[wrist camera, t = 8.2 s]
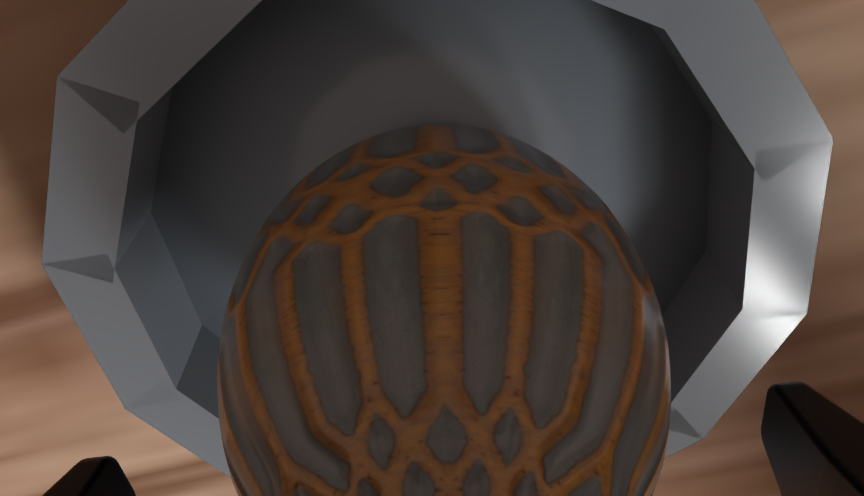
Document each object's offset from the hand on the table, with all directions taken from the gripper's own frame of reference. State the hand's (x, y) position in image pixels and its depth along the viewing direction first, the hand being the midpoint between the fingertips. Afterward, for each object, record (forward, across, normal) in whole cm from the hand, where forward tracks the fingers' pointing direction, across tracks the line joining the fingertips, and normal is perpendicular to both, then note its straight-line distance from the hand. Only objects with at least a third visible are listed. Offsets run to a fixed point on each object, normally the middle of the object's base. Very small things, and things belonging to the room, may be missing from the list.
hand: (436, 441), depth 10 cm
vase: (+6, 0, 0) cm, 6 cm away
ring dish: (+6, 0, 0) cm, 6 cm away
